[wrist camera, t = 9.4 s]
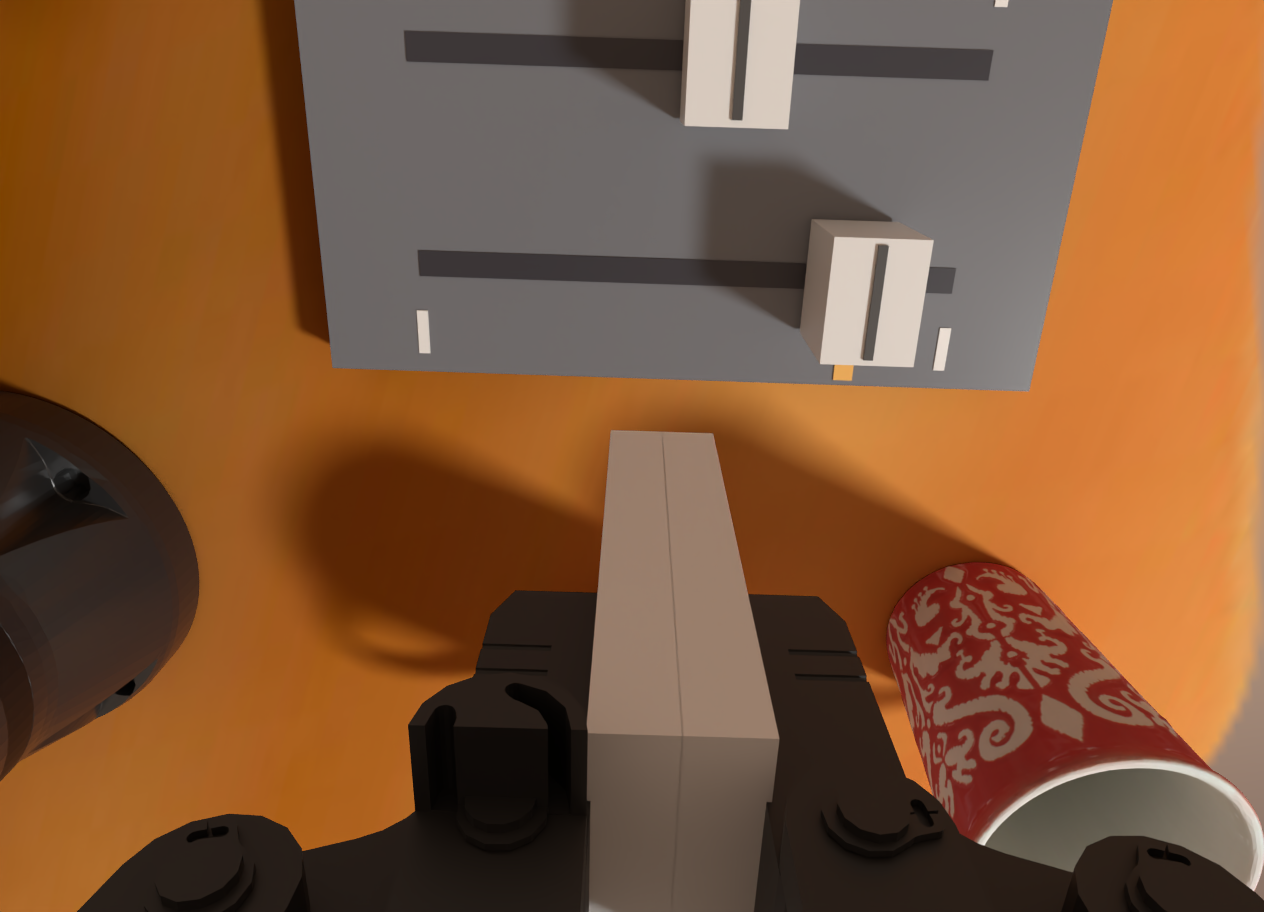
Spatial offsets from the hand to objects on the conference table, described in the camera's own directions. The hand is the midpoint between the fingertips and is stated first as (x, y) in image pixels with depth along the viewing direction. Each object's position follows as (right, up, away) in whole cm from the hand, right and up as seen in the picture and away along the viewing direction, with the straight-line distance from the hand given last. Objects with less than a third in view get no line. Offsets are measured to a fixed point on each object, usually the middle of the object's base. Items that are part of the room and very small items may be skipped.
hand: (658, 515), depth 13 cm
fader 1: (+3, +14, +15) cm, 21 cm away
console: (+2, +11, +19) cm, 22 cm away
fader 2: (+7, +7, +18) cm, 21 cm away
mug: (+15, -8, +27) cm, 32 cm away
